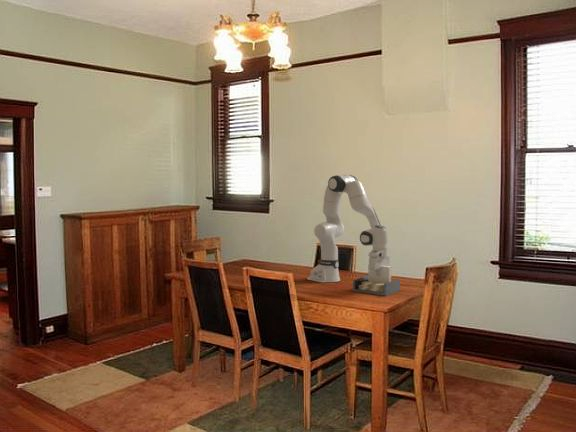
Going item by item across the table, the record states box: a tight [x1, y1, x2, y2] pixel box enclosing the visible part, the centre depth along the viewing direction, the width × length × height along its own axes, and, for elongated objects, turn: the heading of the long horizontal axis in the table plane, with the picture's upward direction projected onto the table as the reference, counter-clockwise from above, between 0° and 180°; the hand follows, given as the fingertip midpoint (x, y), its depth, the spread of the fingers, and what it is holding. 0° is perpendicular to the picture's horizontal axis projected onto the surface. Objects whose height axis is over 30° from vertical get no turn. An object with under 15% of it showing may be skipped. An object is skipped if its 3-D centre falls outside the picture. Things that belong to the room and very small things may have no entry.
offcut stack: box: [359, 281, 384, 292], centre depth 321 cm, size 16×6×4 cm, turn 52°
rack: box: [352, 274, 401, 297], centre depth 324 cm, size 22×18×7 cm
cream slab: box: [367, 264, 392, 284], centre depth 327 cm, size 14×3×12 cm, turn 52°
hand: (379, 275), depth 327 cm, fingers closed on cream slab, 3 cm apart
